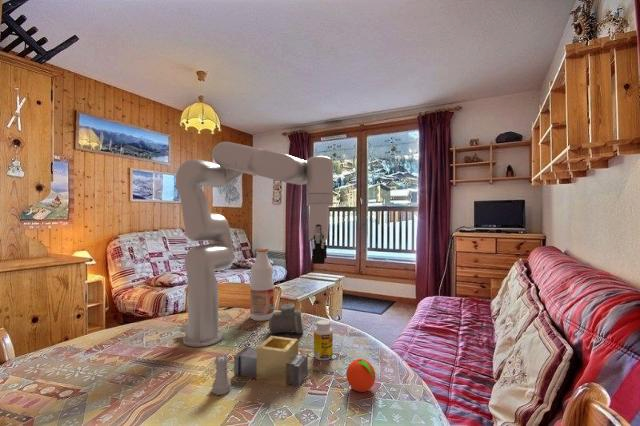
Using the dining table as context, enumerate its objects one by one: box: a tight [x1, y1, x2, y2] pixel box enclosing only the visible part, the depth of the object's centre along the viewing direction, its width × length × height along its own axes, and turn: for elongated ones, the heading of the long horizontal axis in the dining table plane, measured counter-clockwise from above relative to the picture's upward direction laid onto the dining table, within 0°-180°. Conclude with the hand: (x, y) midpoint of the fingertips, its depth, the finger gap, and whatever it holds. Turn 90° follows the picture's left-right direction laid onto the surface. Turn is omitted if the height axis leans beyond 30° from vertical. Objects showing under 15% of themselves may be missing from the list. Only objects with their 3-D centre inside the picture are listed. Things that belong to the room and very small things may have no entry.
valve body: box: [233, 335, 309, 388], centre depth 81 cm, size 18×8×8 cm, turn 72°
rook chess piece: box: [211, 354, 232, 396], centre depth 74 cm, size 4×4×8 cm
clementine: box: [346, 358, 376, 393], centre depth 74 cm, size 8×7×7 cm
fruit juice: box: [249, 247, 275, 322], centre depth 127 cm, size 9×9×28 cm
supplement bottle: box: [313, 319, 334, 361], centre depth 92 cm, size 6×6×10 cm
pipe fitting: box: [268, 302, 304, 335], centre depth 110 cm, size 12×8×10 cm
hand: (319, 260), depth 88 cm, fingers open, 9 cm apart
